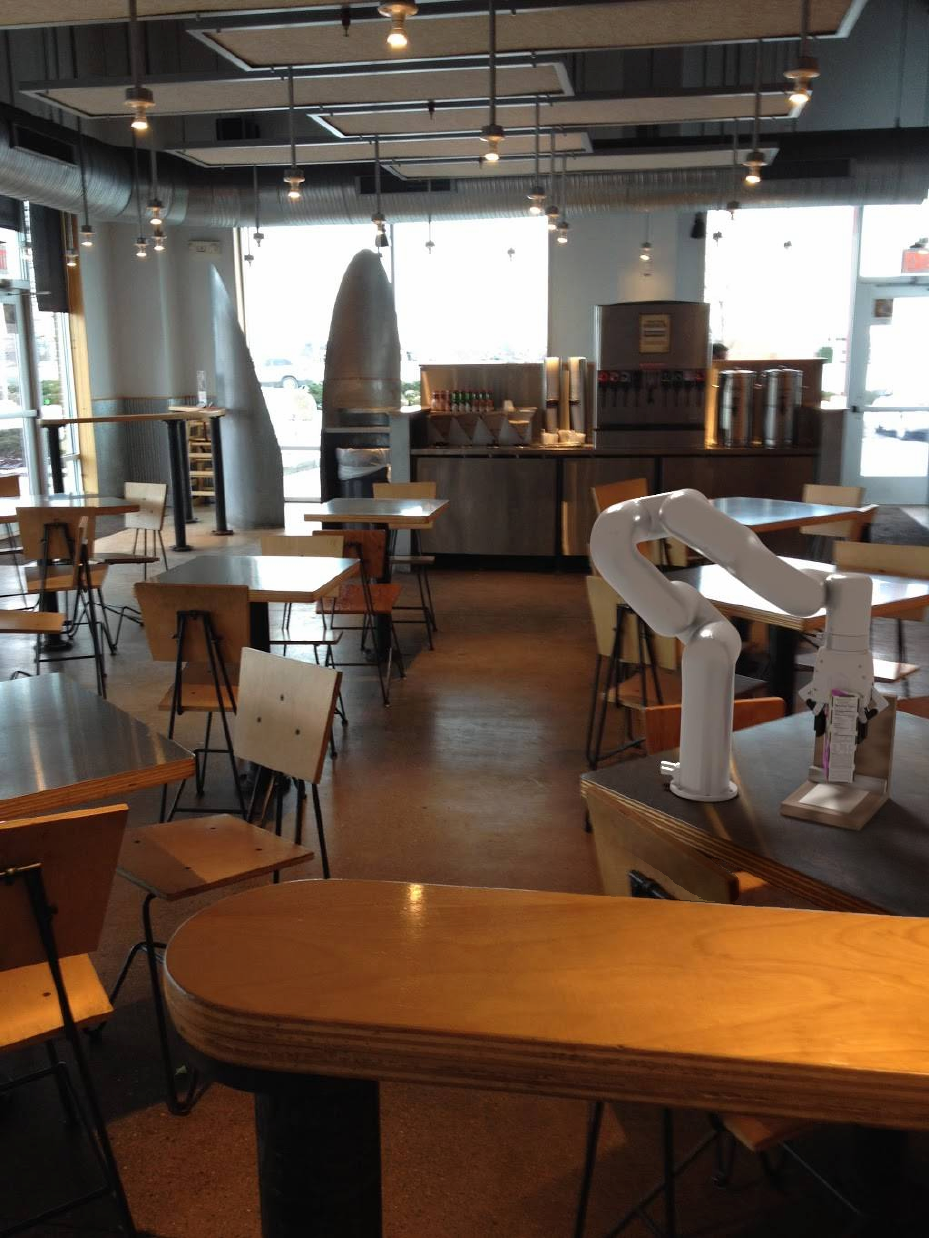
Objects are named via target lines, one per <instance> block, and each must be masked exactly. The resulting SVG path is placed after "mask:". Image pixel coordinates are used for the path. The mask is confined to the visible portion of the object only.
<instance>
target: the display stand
mask: <svg viewBox="0 0 929 1238" xmlns="http://www.w3.org/2000/svg"><path fill="white" fill-rule="evenodd" d="M878 692H879V691H878ZM879 693H880V694H881V695H882V696H883V697H884V698H885V699H886V700H887V702H888V703H889V704H888V706H887V707H886V708H884V709H883V710H882V711H881V712H879V713H878V714H877V715H875V716H874V717H873V718H871V719H870V720H869V721H868V734H867V738H866V739H864V741H863V742H862V743H861V744H857V748H856V762H855V776H854V784H852V783H834V782H828V781H827V778H826V774H825V769H824V765H823V749H824V734H823V735H822V736H821V737H816V732H815V736H814V748H813V749H814V751H813V763H812V764H813V765H811V766H810V767H808V779H807V780H806V781H805V782H804V783H803V784H801V786H799V787H798V788H797V789H795V790H794V791H793V792H792V793H791V794H790V795H788V797H785V799H784V800H782V801H781V802H780V812H779V814H781V815H784V816H789V817H795V818H799V819H802V820H806V821H807V820H808V821H812V822H817V823H820V824H825V825H831V826H835V827H839V828H840V827H841V828H843V829H844V828H845V829H848V830H853V831H858V832H859V831H861V829H862V828H863V827H864V826H865V825H866V824H867V823H868V822H869V821H870V819H872V817H873V816H874V815H875V814H876V813H877V812H878V811H879V810H880V809H881V808H882V807H883V805H884V804H885V803H886V802H887V801H888V800H889V799H890V795H891V794H890V791H891V780H892V773H893V772H892V770H893V760H894V759H893V757H894V748H895V747H894V746H895V745H894V744H895V737H896V736H895V734H896V732H895V731H896V722H897V713H898V711H897V710H898V697H899V695H898V694H892V693H888V692H887V693H886V692H879ZM876 705H877V703H876V702H875V700H874V699H873V701H872V702H871V703H869V704H868V709H869V711H870V710H871V709H873V708H874V707H875V706H876ZM824 713H825V714H826V707H825V708H824ZM858 722H859V716H858Z"/></svg>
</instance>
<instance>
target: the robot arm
mask: <svg viewBox="0 0 929 1238" xmlns="http://www.w3.org/2000/svg"><path fill="white" fill-rule="evenodd" d="M669 537H672V538H675V539H676V540H678V541H680V542H681V543H682V544H684V545H686V546H688V548H691V549H692V550H694V552H697V553H698V554H700V555H702V556H703V557H705V558H707V559H708V560H710V561H711V562H713V563H715V564H716V565H718V566H719V567H720V568H722V569H724V570H725V571H726V572H727V573H728V574H729V575H731V576H732V577H733V578H735V579H736V580H738V581H739V582H740V583H742V584H743V585H744V586H746V588H748V589H749V590H751V591H752V592H753V593H755V594H756V595H757V596H759V597H761V599H764V600H765V601H767V602H769V603H770V604H772V605H773V606H775V607H776V608H777V609H779V610H781V611H783V612H785V614H786V613H787V614H789V615H790V616H793V617H797V618H809V617H812V616H814V615H815V614H817V613H818V612H819V611H820V610H821V609H825V622H824V623H825V624H824V627H825V628H824V631H823V632H817V633H816V640H817V641H820V642H822V646H820V647H818V651H817V654H816V658H815V659H816V660H815V663H814V667H813V674H812V680H811V681H810V682H809V683H808V684H806V685H805V686H804V687H802V688H801V689H799V691H798V692H797V693H798V695H799V696H800V698H801V699H802V700H803V701H804V702H805V705H806V706H807V707H808V709H809V710H810V711H811V713H812V715H814V719H813V731H815V733H816V737H821V736H822V735H823V734H824V733H825V721H826V714H825V713H824V708H825V707H826V705H827V704H828V705H829V700H830V691H831V690H841V691H848V692H853V693H858V694H859V696H860V701H859V722H858V732H857V744H861V743H862V742H863V741H864V739H866V738H867V734H868V721H869V720H870V719H871V718H873V717H874V716H875V715H877V714H878V713H879V712H881V711H882V710H883V709H884V708H886V707H887V706H888V704H889V703H888V702H887V700H886V699H885V698H884V697H883V696H882V695H881V694H880V693H881V692H880V693H879V690H878V689H877V688H876V687H875V669H874V666H875V665H874V660H873V659H874V658H873V652H872V650H870V649H869V644H870V632H871V631H870V630H871V616H872V615H871V614H872V604H873V603H872V601H873V589H874V585H873V584H874V583H873V580H872V577H870V576H869V575H868V574H864V573H860V572H859V573H858V572H850V571H849V572H845V571H844V572H832V571H824V570H820V569H819V570H818V569H815V568H800V569H798V568H796V567H794V566H793V565H791V564H789V563H788V562H786V561H784V560H783V559H782V558H780V556H778V555H776V554H775V553H774V552H773V551H771V550H770V549H769V548H768V547H766V545H765V544H763V542H762V541H761V539H760V538H759V537H758V535H757V534H756V533H755V532H754V531H753V530H752V529H751V528H749V527H748V526H746V525H744V524H743V523H741V522H740V521H738V520H736V519H734V518H733V517H731V516H729V515H728V514H726V513H724V512H723V511H722V510H720V509H719V508H717V507H715V506H713V505H712V504H711V503H710V501H709V499H708V498H707V497H706V496H705V494H704V493H702V492H700V491H699V490H697V489H693V488H683V489H679V490H674V491H671V492H665V493H660V494H656V495H650V496H644V497H640V498H639V497H638V498H634V499H628V500H625V501H621V502H618V503H616V504H613V505H610V506H609V507H607V508H606V509H604V510H603V511H602V512H601V513H600V514H599V515H598V517H597V518H596V521H594V524H593V527H592V529H591V533H590V541H589V549H590V556H591V559H592V561H593V565H594V566H595V568H596V570H597V571H598V573H599V574H600V576H601V577H602V578H603V579H604V580H605V581H606V583H608V584H609V585H610V586H611V587H612V589H614V591H616V592H617V594H618V595H619V596H620V597H621V598H622V599H623V600H624V602H626V603H627V605H628V606H630V607H631V609H632V610H633V611H635V613H636V614H637V615H638V616H640V618H641V619H642V620H643V621H644V622H645V623H646V624H647V625H648V626H649V627H650V629H652V630H653V631H654V632H655V633H656V634H658V635H659V636H662V637H665V638H674V637H676V638H677V639H678V640H679V641H680V642H681V643H682V644H683V645H684V648H683V652H682V656H681V682H682V684H681V689H682V690H681V717H680V718H681V721H680V722H681V723H680V739H679V762H677V763H673V762H671V761H666V760H662V761H661V762H660V764H659V765H660V766H659V768H660V773H661V775H665V776H671V777H672V778H673V779H672V780H671V781H669V782H670V783H669V789H670V791H671V792H672V793H674V794H675V795H676V796H679V797H680V798H684V799H687V800H691V801H698V802H708V803H709V802H712V803H713V802H714V803H715V802H723V801H729V800H731V799H733V798H735V797H736V796H737V795H738V790H739V789H738V786H737V784H736V783H735V782H733V781H732V780H731V764H732V763H731V762H732V761H731V760H732V745H733V744H732V740H733V727H734V726H733V725H734V724H733V721H734V706H735V705H734V703H735V701H734V700H735V671H736V664H737V663H736V662H737V661H738V659H739V656H740V654H741V652H742V639H741V636H740V633H739V631H738V630H737V628H736V627H735V626H734V625H733V624H732V622H730V621H729V619H727V618H726V616H724V615H723V614H722V613H721V611H719V610H718V608H716V607H715V606H714V605H713V604H712V602H710V601H709V600H708V599H707V598H706V597H705V596H704V595H703V594H702V593H701V592H700V591H699V590H698V589H697V588H695V587H694V586H692V585H691V584H689V583H687V582H685V581H681V580H673V581H672V580H669V579H668V578H667V576H665V575H664V574H663V572H661V571H660V570H659V569H658V568H657V567H656V565H655V564H653V563H652V562H651V561H650V560H649V559H648V558H646V557H645V556H644V555H643V554H642V553H641V552H640V551H639V549H638V546H637V544H639V543H641V542H647V541H652V540H659V539H663V538H664V539H665V538H669ZM873 699H874V700H875V702H876V703H877V705H876V706H875V707H874V708H873V709H871V710H870V711H869V709H868V704H869V703H871V702H872V701H873Z"/></svg>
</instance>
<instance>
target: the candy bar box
mask: <svg viewBox="0 0 929 1238" xmlns="http://www.w3.org/2000/svg"><path fill="white" fill-rule="evenodd" d="M859 701H860V696H859V694H858V693H853V692H848V691H841V690H831V691H830V700H829V705H828V704H827V705H826V721H825V733H824V749H823V765H824V769H825V774H826V778H827V781H828V782H834V783H852V784H854V776H855V762H856V748H857V732H858V716H859Z"/></svg>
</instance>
